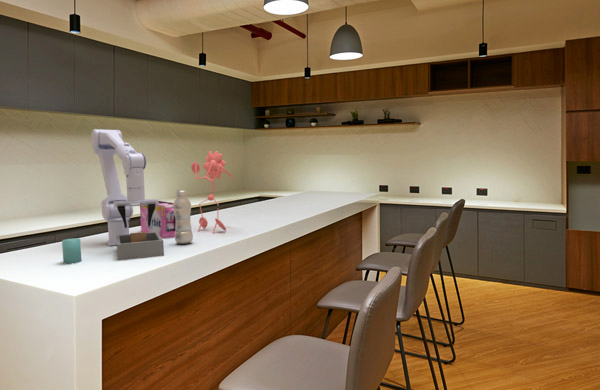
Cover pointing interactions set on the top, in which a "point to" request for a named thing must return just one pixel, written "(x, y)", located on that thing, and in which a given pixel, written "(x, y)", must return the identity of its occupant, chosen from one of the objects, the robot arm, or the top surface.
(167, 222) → the gum box
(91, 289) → the top surface
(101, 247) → the top surface
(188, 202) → the plastic bottle
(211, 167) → the figurine
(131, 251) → the tote
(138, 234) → the walnut cube
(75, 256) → the teal cylinder
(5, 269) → the top surface
